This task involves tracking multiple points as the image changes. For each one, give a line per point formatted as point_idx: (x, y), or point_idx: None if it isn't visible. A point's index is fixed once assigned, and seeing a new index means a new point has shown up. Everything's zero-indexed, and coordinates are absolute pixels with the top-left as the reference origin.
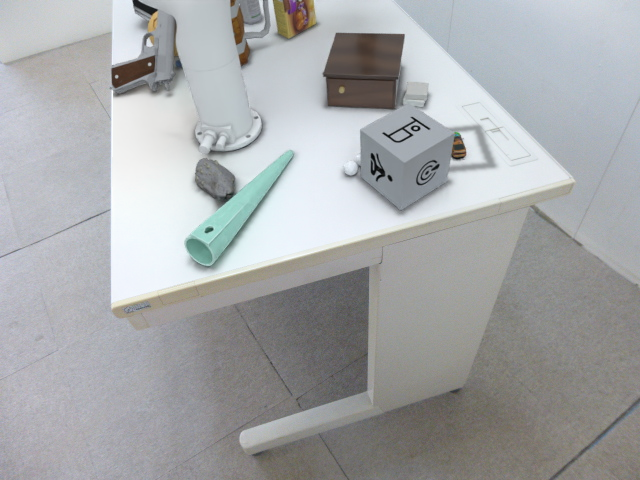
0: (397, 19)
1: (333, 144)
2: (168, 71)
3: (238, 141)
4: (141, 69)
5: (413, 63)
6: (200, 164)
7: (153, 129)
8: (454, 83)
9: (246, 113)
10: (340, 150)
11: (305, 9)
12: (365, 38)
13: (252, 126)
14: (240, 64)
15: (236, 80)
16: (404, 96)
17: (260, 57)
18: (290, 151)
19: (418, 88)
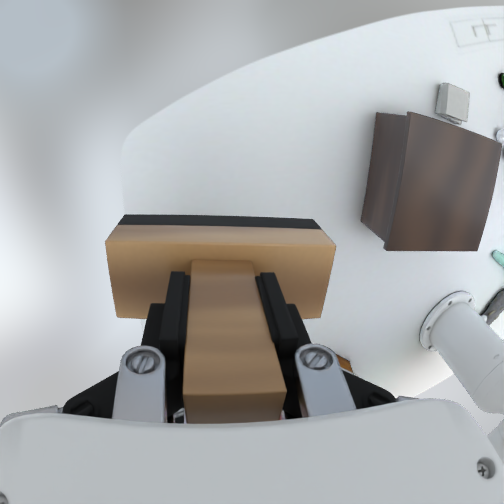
0: (185, 117)
1: (492, 212)
2: None
3: (472, 306)
4: None
5: (363, 88)
6: (490, 323)
7: (419, 378)
8: (415, 37)
9: (475, 314)
10: (499, 204)
11: None
12: (416, 192)
13: (460, 301)
14: (337, 356)
15: (501, 340)
16: (456, 121)
17: (316, 340)
18: (498, 255)
19: (459, 101)
